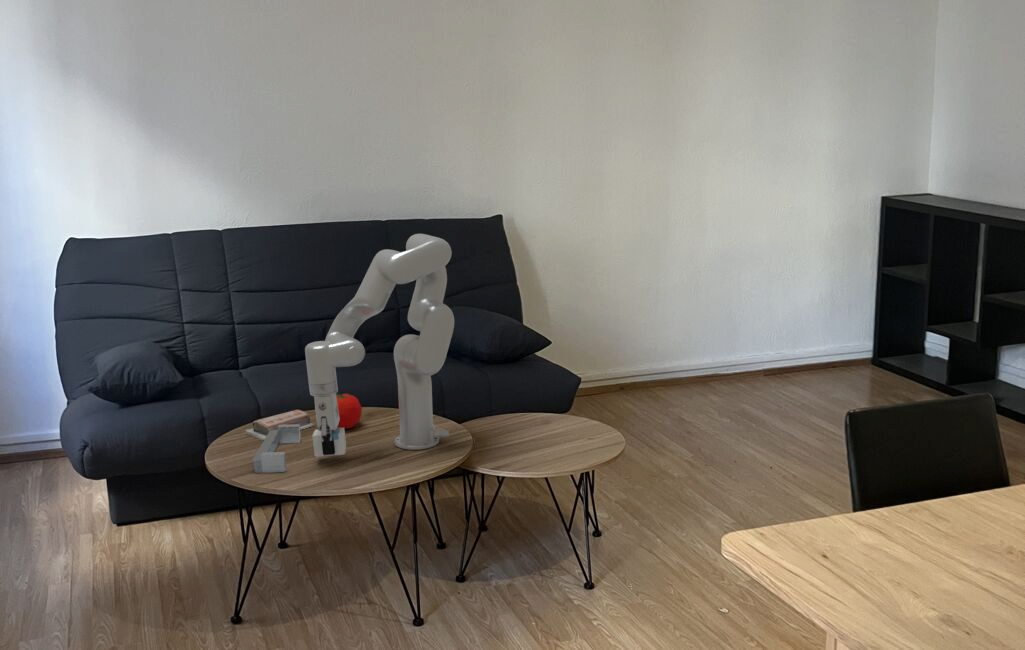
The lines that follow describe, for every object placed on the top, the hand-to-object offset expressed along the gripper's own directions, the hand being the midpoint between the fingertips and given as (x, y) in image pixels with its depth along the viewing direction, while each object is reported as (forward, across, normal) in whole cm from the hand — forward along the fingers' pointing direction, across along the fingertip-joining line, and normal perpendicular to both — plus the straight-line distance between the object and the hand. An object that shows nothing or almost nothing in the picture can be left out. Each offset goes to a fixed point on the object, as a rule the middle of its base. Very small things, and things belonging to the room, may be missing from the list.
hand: (330, 449), depth 296 cm
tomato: (+4, +30, 0) cm, 31 cm away
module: (+1, 0, 0) cm, 1 cm away
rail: (+3, +5, +16) cm, 17 cm away
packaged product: (+4, +29, +19) cm, 35 cm away
